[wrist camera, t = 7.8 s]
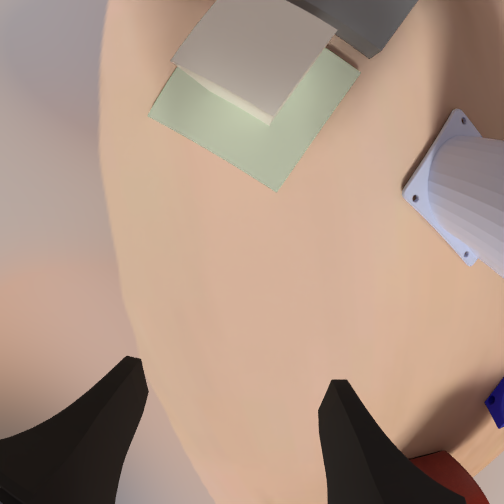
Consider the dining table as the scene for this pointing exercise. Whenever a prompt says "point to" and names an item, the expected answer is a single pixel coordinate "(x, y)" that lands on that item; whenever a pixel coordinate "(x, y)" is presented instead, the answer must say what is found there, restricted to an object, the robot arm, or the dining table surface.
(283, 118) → the mat
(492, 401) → the cable clip
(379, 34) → the gray square hole board
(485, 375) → the dining table surface
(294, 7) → the plug
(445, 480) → the plant pot
